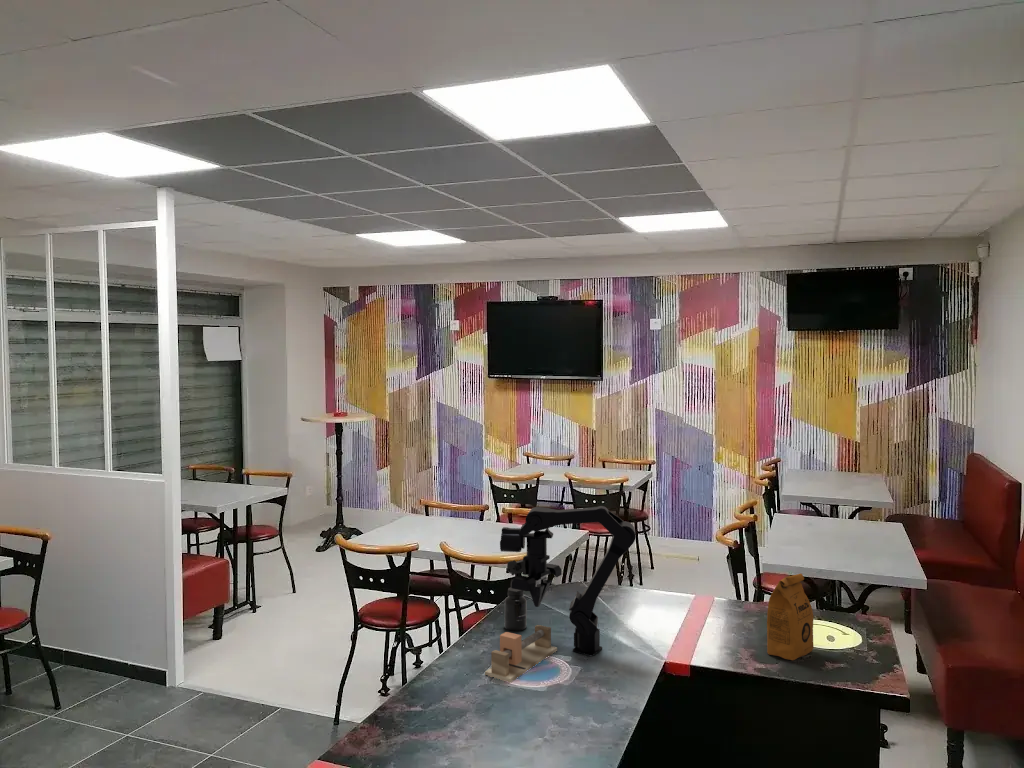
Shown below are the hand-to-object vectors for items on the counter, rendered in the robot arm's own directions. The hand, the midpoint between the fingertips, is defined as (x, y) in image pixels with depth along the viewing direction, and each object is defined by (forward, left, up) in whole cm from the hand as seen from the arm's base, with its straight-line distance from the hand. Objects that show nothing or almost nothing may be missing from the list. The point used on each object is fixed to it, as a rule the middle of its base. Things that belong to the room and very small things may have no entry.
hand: (537, 606), depth 210 cm
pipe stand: (-2, +11, -12) cm, 16 cm away
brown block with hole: (-2, +17, -10) cm, 19 cm away
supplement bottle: (+14, -10, -12) cm, 21 cm away
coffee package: (-62, -34, -12) cm, 72 cm away
